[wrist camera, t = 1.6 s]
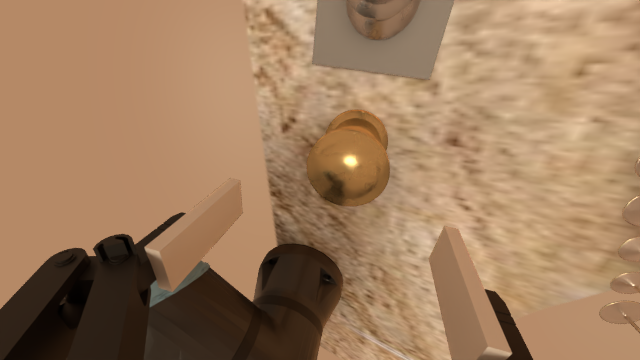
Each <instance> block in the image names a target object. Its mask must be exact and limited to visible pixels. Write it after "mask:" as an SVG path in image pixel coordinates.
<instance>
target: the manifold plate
mask: <svg viewBox="0 0 640 360" xmlns="http://www.w3.org/2000/svg"><path fill="white" fill-rule="evenodd" d="M453 3H454V0H420V4H419V7H418V9H417V11H416V13H415V15H414V17H413V18H412V20H411V21H410V23H409V24H408V25H407V26H406V27H405V28H404V29H403V30H402V31H401V32H399V33H398V34H397V35H395V36H393V37H391V38H388V39H384V40H372V39H369V38H366V37H364V36H363V35H361V34H360V33H359V32H358V31H357V30H356V29H355V28H354V27H353V25H352V23H351V21H350V19H349V17H348V13H347V8H346V0H318V1H317V13H316V25H315V37H314V49H313V61H312V64H316V65H324V66H331V67H338V68H346V69H353V70H361V71H368V72H375V73H383V74H390V75H397V76H405V77H412V78H420V79H427V80H429V79H430V76H431V73H432V70H433V67H434V63H435V60H436V57H437V54H438V51H439V47H440V44H441V41H442V38H443V35H444V32H445V28H446V25H447V22H448V19H449V16H450V12H451V9H452V6H453Z"/></svg>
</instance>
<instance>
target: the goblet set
mask: <svg viewBox="0 0 640 360" xmlns="http://www.w3.org/2000/svg"><path fill="white" fill-rule="evenodd" d="M635 172H636V174H637V175H638V176H639V177H640V157H639V158H638V160H637V161H636V164H635ZM622 215H623V218H624V219H625V221H627V222H628V223H630V224H632V225H637V226H640V195H639V196H637V197H635V198H633V199H632V200H631V201H629V202H628V203H627V204H626V206H625V207H624V209H623V213H622ZM618 254H619V256H620V257H621V258H623V259H625V260H628V261H640V236H639V237H635V238H632V239H629V240H627V241H626V242H624V243H623V244H622V245H621V246H620V247H619V249H618ZM610 286H611V288H612V289H613V290H614V291H616V292H619V293H624V294H632V293H638V292H639V293H640V272H629V273H624V274H621V275H619V276H617V277H615V278H614V279H613V280H612V281H611V283H610ZM599 315H600V317H601V318H602V319H603V320H605V321H607V322H610V323H616V324H626V323H631V325H632V326H633V327H635V329H636V330H637V331H638V332H639V333H640V328H639V327H638V326H637V325H636V324H635V323H634V322H635V321H638V320H640V303H638V302H634V301H617V302H613V303H609V304H607V305H605V306H604V307H602V309H601V310H600V312H599Z"/></svg>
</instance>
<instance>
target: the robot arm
mask: <svg viewBox="0 0 640 360" xmlns="http://www.w3.org/2000/svg"><path fill="white" fill-rule="evenodd" d="M240 185H241V184H240V180H235V179H231V178H229V179H228V180H227V181H226V182H225V183H223V184H222V185H221V186H220V187H218V188H217V189H216V190H215V191H213V192H212V193H211V194H210V195H208V196H207V197H206V198H205V199H203V200H202V201H201V202H200V203H198V204H197V205H196V206H195V207H194V208H192V209H191V210H190V211H189V212H187V213H179V214H177V215H174V216H172V217H171V218H169V219H168V220H167V221H165V222H164V224H162V225H160V226H159V227H158V228H157V229H155V230H154V231H152V232H151V233H150V234H148V235H147V236H146V237H145V238H143V239H142V240H141V241H139V242H138V243H137V244H135V245H134V242H133V240H132V237H130V236H129V235H125V234H119V235H114V236H110V237H108V238H105V239H103V240H101V241H100V242H99V243H98V244H96V246H95V247H94V248H93V250H94V252H95V254H96V256H88V255H87V253H86V251H85V250H83V249H82V248H72V249H67V250H64V251H62V252H59V253H57V254H55V255H53V256H52V257H50V258H49V259H48V260H47V261H46V262H45V263H44V264H43V265H42V266H41V267H40V268H39V269H38V270H37V271H36V272H35V273H34V274H33V275H32V277H31V278H30V279H29V280H28V281H27V282H26V283H25V284H24V285H23V286H22V287H21V288H20V289H19V290H18V291H17V292H16V293H15V294H14V295H13V297H11V299H10V300H9V301H8V302H7V303H6V304H5V305H4V306H3V307H2V308H1V309H0V360H317V356H318V351H319V346H320V341H321V336H322V332H323V328H324V326H325V324H326V323H327V321H328V319H329V317H330V316H331V314H332V312H333V311H334V309H335V307H336V305H337V304H338V302H339V300H340V297H341V292H342V286H343V279H342V275H341V273H340V271H339V269H338V267H337V266H336V265H335V264H334V262H333V261H332V260H331V259H329V258H328V257H327V256H326V255H324V254H323V253H321V252H319V251H317V250H315V249H313V248H310V247H307V246H303V245H297V244H286V245H281V246H278V247H275V248H273V249H272V250H271V251H269V252H268V254H267V255H266V257H265V258H264V260H263V262H262V264H261V266H260V268H259V273H258V278H257V284H256V289H255V295H254V300H253V302H251V301H250V300H249V299H247V298H246V297H245V296H244V295H243V294H241V293H240V292H239V291H238V290H236V289H235V288H234V287H233V286H232V285H230V284H229V283H228V282H227V281H225V280H224V279H223V278H222V277H221V276H220V275H218V274H217V273H216V272H214V270H212V269H211V268H210V265H209V264H208V263H206V262H205V263H204V262H202V261H201V259H202V258H203V257H204V256H205V255H206V254H207V253H208V251H209V250H210V249H211V248H212V247H213V246H214V245H215V243H216V242H217V241H218V240H219V239H220V238H221V237H222V236H223V235H224V233H225V232H226V231H227V230H228V229H229V228H230V227H231V226H232V224H233V223H234V222H235V221H236V220H237V219H238V218H239V216H240V215H241V214H242V201H241V200H242V199H241V186H240ZM429 262H430V266H431V270H432V275H433V279H434V284H435V288H436V292H437V297H438V301H439V306H440V310H441V314H442V319H443V323H444V328H445V332H446V336H447V341H448V345H449V350H450V354H451V359H452V360H533V358H532V356H531V354H530V352H529V350H528V348H527V346H526V344H525V342H524V340H523V338H522V336H521V334H520V332H519V330H518V328H517V327H516V324H515V322H514V320H513V318H512V317H511V314H510V312H509V310H508V308H507V306H506V304H505V302H504V301H503V300H502V299H501V298H500V296H499V295H498V294H497V293H496V292H494V291H490V290H486V289H484V287H483V285H482V283H481V280H480V278H479V276H478V273H477V271H476V269H475V266H474V264H473V262H472V260H471V257H470V255H469V253H468V250H467V248H466V246H465V243H464V241H463V239H462V237H461V234H460V232H459V230H458V229H456V228H451V227H447V226H444V228H443V230H442V232H441V234H440V236H439V239H438V241H437V243H436V245H435V247H434V249H433V251H432V253H431V255H430V257H429Z"/></svg>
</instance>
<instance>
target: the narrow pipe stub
mask: <svg viewBox="0 0 640 360" xmlns="http://www.w3.org/2000/svg"><path fill="white" fill-rule="evenodd" d="M419 4H420V0H346V8H347V13H348V17H349V19H350V21H351V23H352V25H353V27H354V28H355V29H356V30H357V31H358V32H359V33H360V34H361V35H363V36H364V37H366V38H369V39H372V40H384V39H388V38H391V37H393V36H395V35H397V34H398V33H399V32H401V31H402V30H403V29H404V28H405V27H406V26H407V25H408V24H409V23H410V21H411V20H412V18H413V17H414V15H415V13H416V11H417V9H418V7H419Z"/></svg>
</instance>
